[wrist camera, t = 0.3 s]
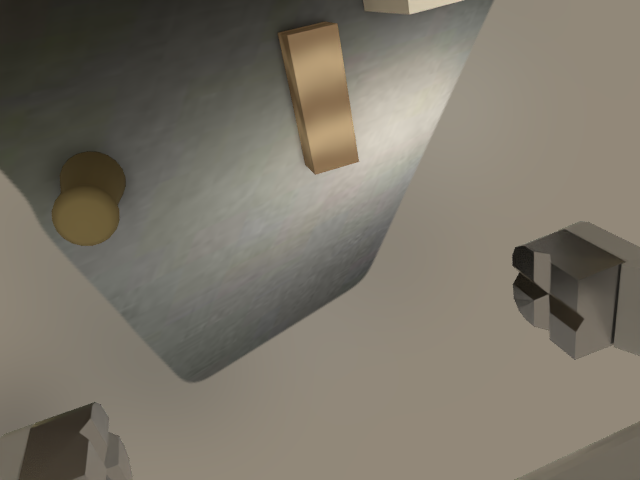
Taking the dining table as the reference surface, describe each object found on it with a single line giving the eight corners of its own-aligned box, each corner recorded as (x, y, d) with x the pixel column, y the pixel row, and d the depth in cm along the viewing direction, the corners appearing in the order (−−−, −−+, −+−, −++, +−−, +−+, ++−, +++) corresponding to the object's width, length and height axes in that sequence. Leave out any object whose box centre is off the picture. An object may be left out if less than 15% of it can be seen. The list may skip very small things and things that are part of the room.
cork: (136, 169, 53) (137, 208, 43) (108, 219, 54) (103, 267, 44) (76, 140, 50) (63, 174, 40) (48, 192, 51) (29, 238, 41)
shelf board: (277, 32, 52) (287, 35, 48) (323, 21, 53) (337, 23, 49) (304, 163, 58) (315, 174, 55) (345, 151, 59) (358, 161, 56)
